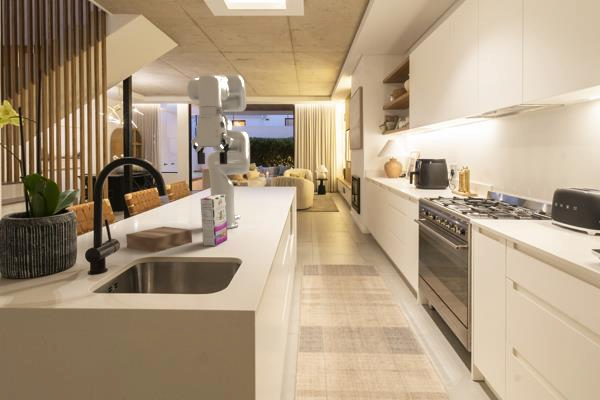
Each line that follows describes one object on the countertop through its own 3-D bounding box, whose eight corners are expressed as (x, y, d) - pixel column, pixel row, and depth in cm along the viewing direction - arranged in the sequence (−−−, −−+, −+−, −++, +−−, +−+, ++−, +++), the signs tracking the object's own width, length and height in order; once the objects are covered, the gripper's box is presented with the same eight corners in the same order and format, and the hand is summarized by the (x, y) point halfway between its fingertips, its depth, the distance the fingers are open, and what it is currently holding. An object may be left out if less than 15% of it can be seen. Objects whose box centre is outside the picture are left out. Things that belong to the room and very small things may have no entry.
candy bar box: (215, 239, 151) (213, 194, 149) (227, 239, 150) (226, 194, 148) (201, 246, 140) (199, 198, 138) (215, 246, 139) (213, 198, 137)
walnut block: (164, 239, 152) (163, 226, 152) (192, 243, 146) (191, 229, 145) (127, 248, 139) (126, 234, 138) (156, 253, 132) (155, 238, 131)
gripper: (238, 112, 139) (239, 163, 141) (198, 115, 147) (200, 163, 149) (223, 111, 132) (225, 164, 134) (183, 114, 140) (185, 164, 142)
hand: (212, 164), depth 141 cm, fingers open, 9 cm apart
